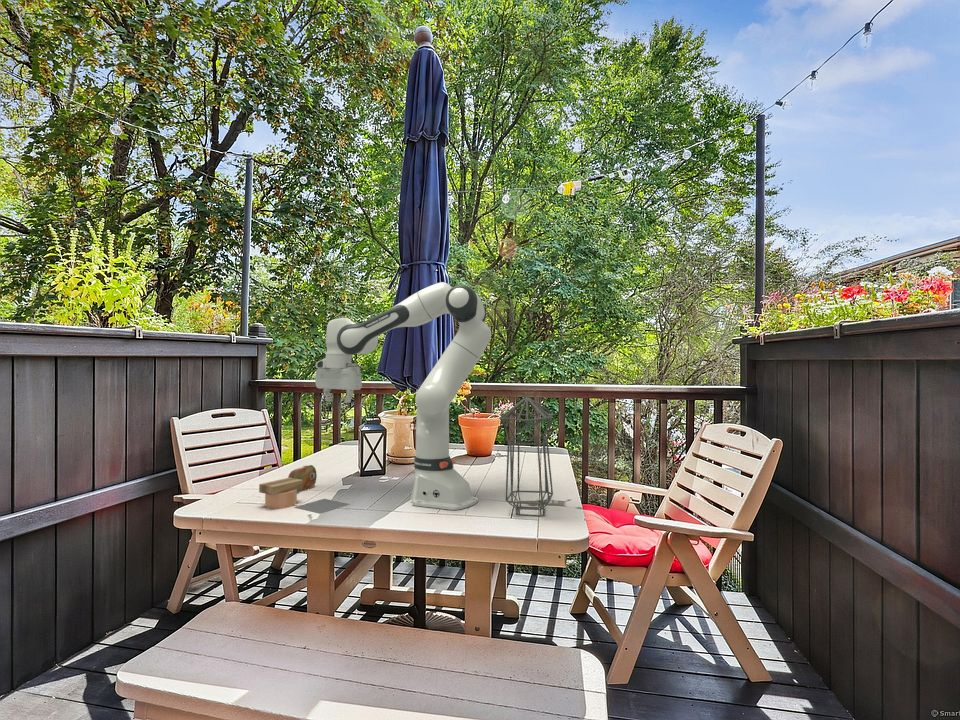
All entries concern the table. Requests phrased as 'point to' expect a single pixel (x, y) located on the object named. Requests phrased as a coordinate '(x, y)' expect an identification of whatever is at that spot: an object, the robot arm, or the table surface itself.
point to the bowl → (281, 500)
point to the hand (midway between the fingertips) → (338, 402)
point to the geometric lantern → (545, 416)
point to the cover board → (280, 486)
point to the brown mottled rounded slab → (305, 476)
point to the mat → (322, 506)
